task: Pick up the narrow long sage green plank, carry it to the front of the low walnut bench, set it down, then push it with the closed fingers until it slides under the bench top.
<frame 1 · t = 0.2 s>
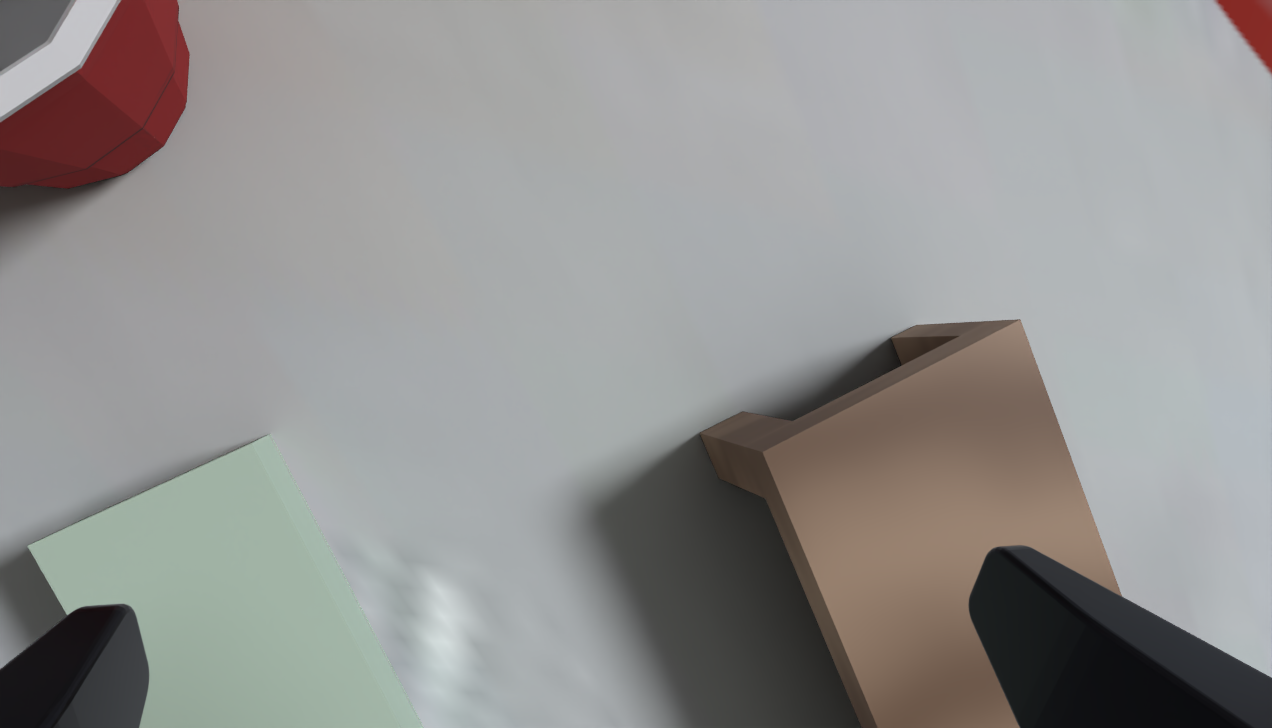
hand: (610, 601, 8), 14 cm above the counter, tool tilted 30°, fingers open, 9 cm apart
plastic cup: (74, 75, 20), on the counter
bench: (915, 631, 26), on the counter
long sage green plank: (286, 674, 21), on the counter
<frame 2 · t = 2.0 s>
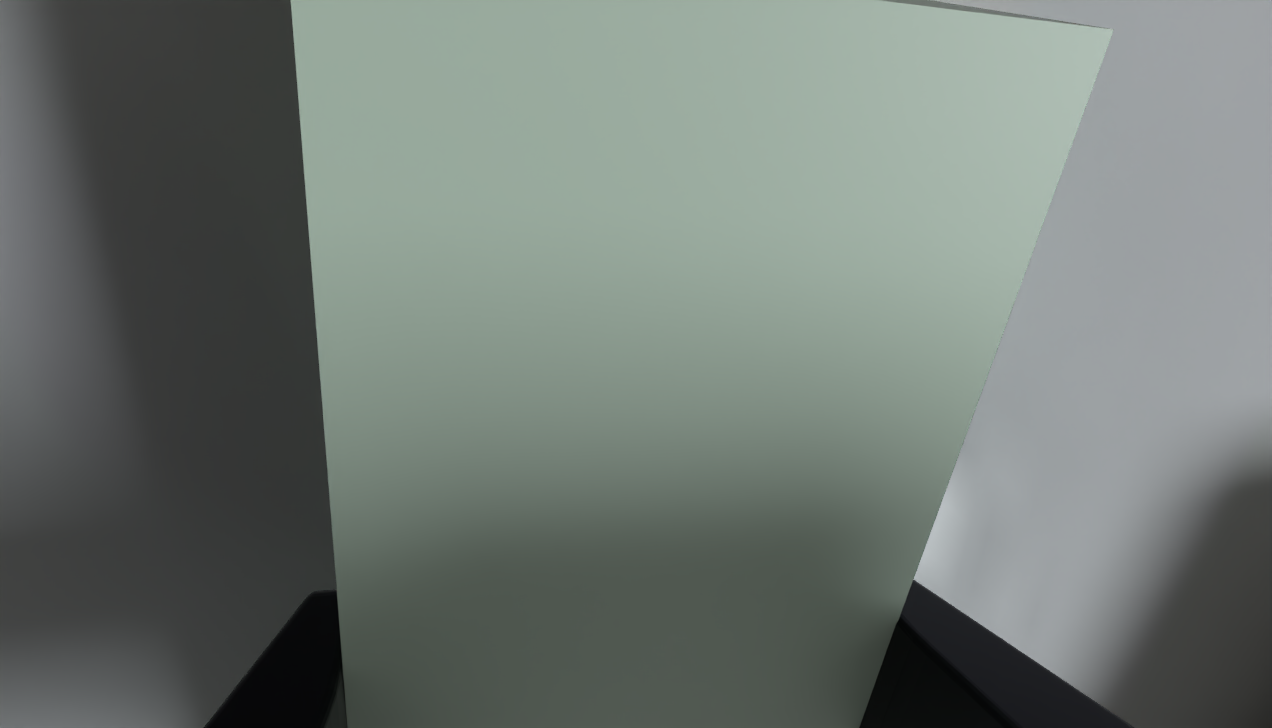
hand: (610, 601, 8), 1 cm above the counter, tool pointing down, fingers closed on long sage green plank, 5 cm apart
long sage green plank: (589, 519, 10), on the counter, touching gripper
when the fingers open (2 cm above the counter, at t = 6.0 s): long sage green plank drops 1 cm, on the counter.
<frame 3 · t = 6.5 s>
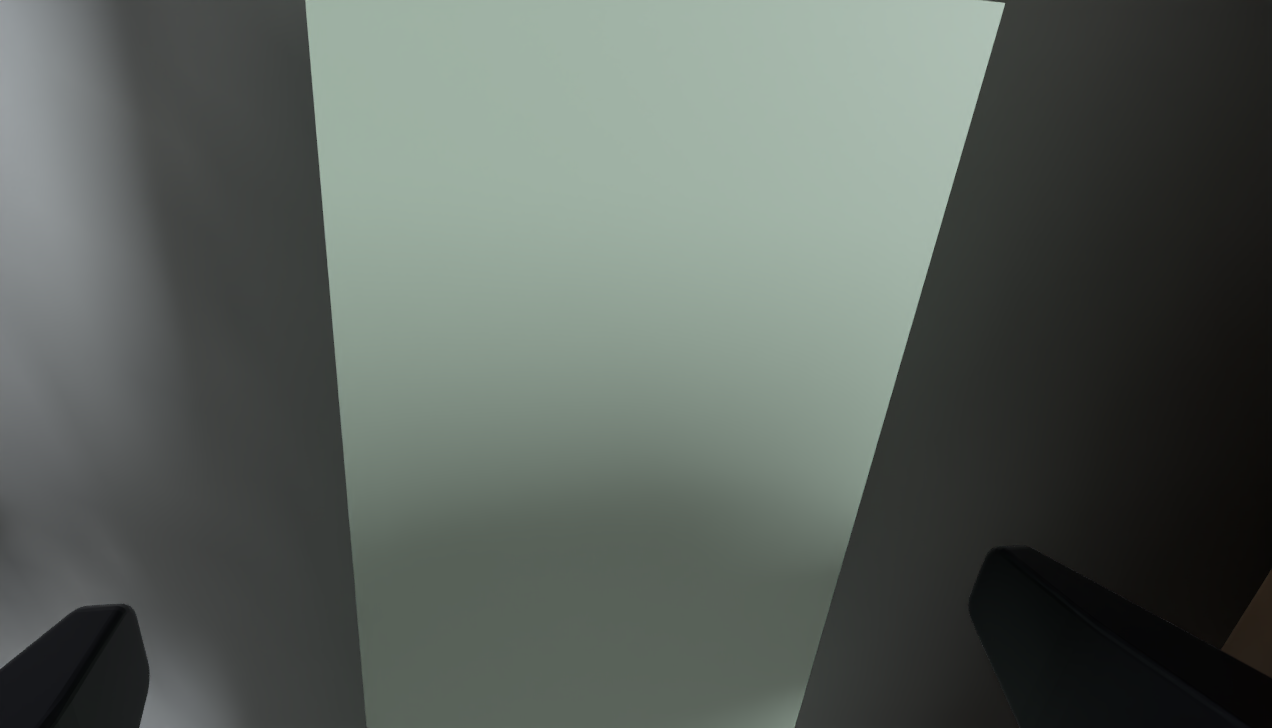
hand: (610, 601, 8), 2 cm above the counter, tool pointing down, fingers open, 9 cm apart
bench: (1244, 458, 12), on the counter
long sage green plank: (576, 465, 10), on the counter
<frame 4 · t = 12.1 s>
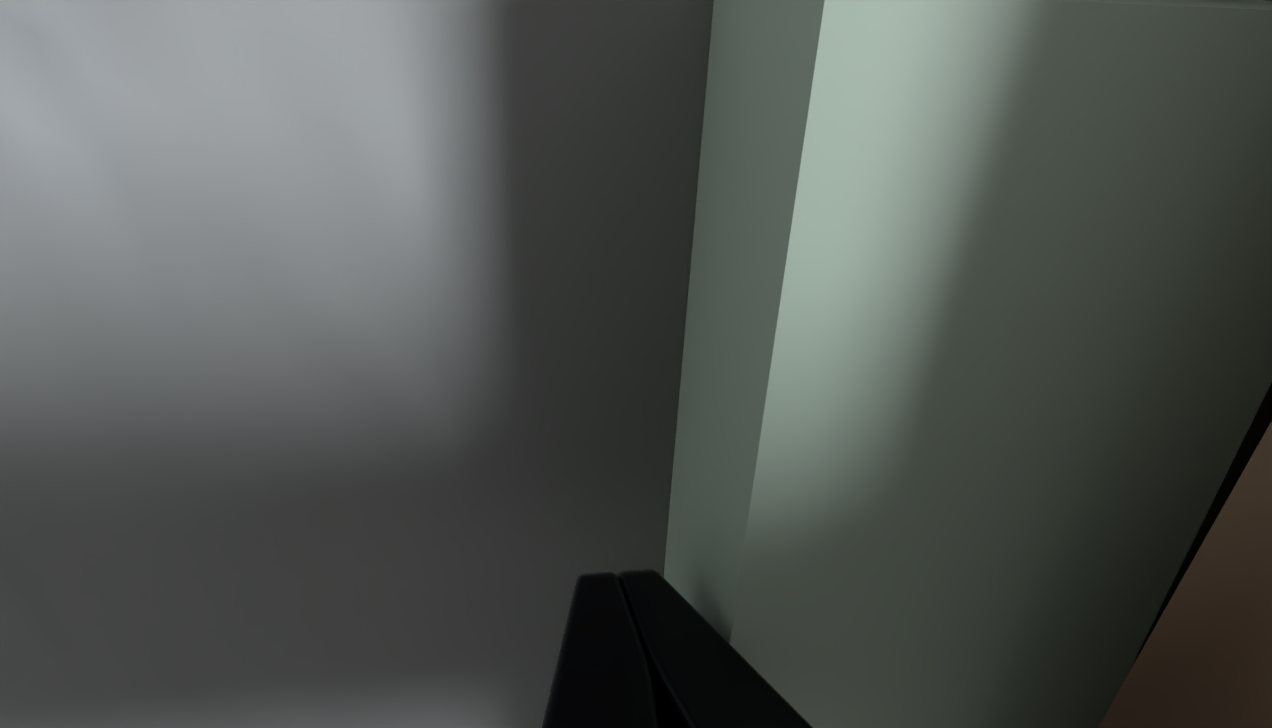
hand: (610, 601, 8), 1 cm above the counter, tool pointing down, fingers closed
bench: (1152, 511, 11), on the counter
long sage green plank: (845, 488, 10), on the counter
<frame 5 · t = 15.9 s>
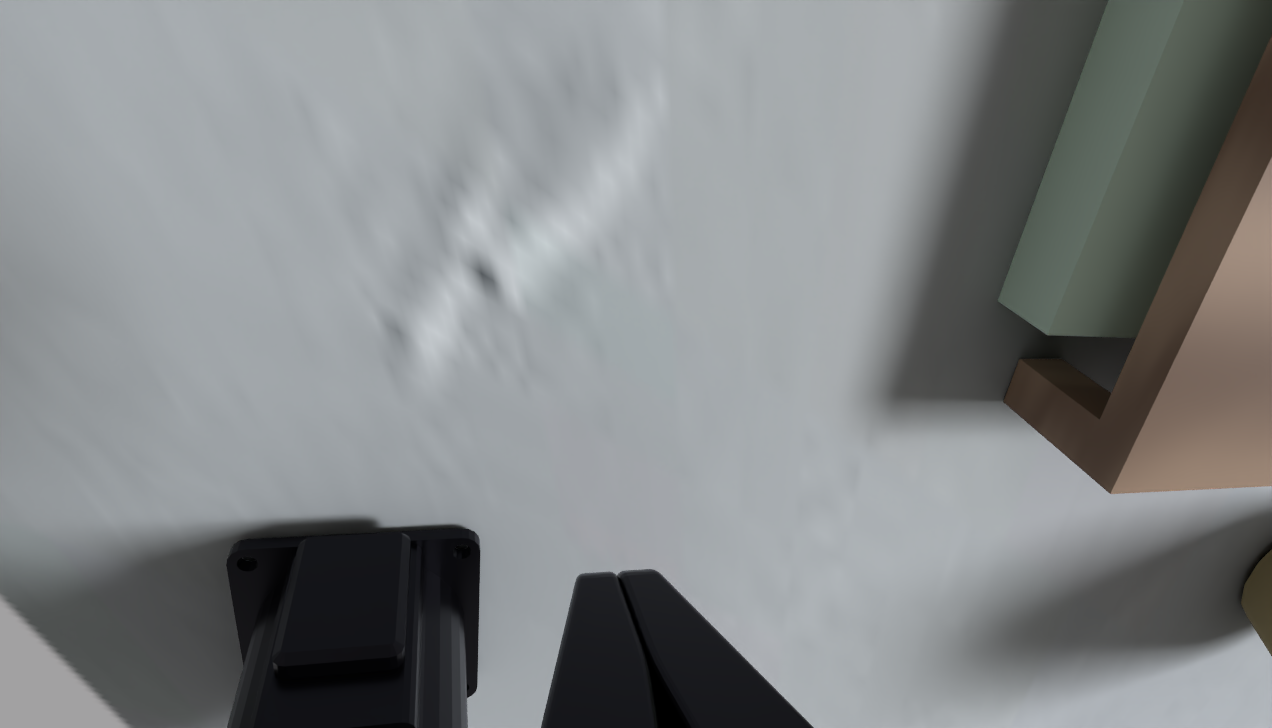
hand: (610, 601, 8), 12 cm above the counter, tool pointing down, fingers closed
bench: (1241, 110, 21), on the counter
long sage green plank: (1147, 88, 21), on the counter
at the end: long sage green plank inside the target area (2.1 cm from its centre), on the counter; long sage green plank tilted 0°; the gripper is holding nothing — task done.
